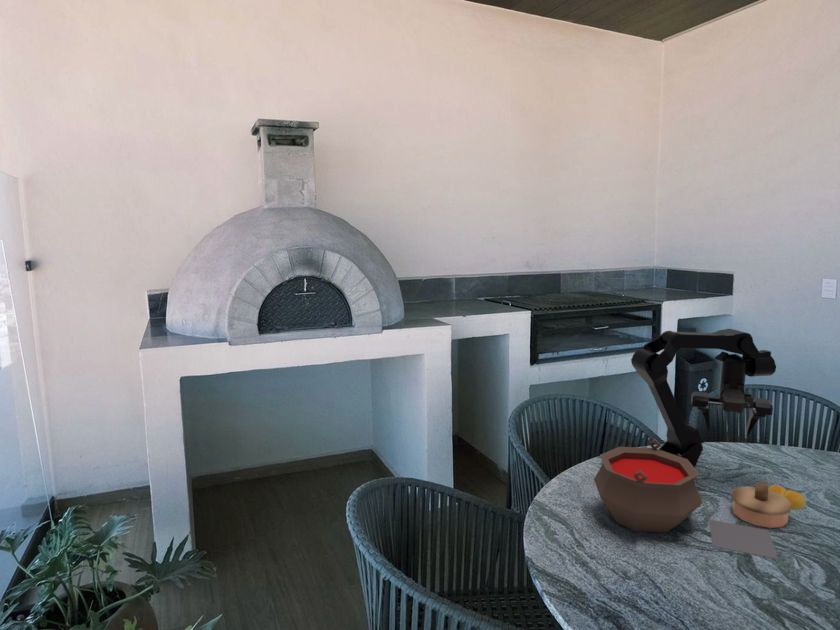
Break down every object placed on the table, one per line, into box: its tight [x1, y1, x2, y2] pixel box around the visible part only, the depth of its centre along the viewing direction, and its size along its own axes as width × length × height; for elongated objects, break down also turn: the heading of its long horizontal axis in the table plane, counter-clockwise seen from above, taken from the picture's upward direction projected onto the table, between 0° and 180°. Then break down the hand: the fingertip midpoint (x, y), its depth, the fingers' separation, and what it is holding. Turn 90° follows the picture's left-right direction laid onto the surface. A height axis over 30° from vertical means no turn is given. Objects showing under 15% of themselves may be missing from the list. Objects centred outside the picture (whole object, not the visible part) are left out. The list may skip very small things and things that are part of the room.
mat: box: [708, 519, 778, 560], centre depth 127 cm, size 12×12×1 cm
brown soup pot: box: [593, 438, 703, 533], centre depth 135 cm, size 24×24×16 cm
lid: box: [731, 481, 792, 515], centre depth 135 cm, size 12×12×4 cm
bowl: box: [732, 500, 790, 529], centre depth 136 cm, size 11×11×4 cm
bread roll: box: [768, 484, 807, 510], centre depth 143 cm, size 8×9×4 cm
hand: (727, 433), depth 155 cm, fingers open, 9 cm apart
